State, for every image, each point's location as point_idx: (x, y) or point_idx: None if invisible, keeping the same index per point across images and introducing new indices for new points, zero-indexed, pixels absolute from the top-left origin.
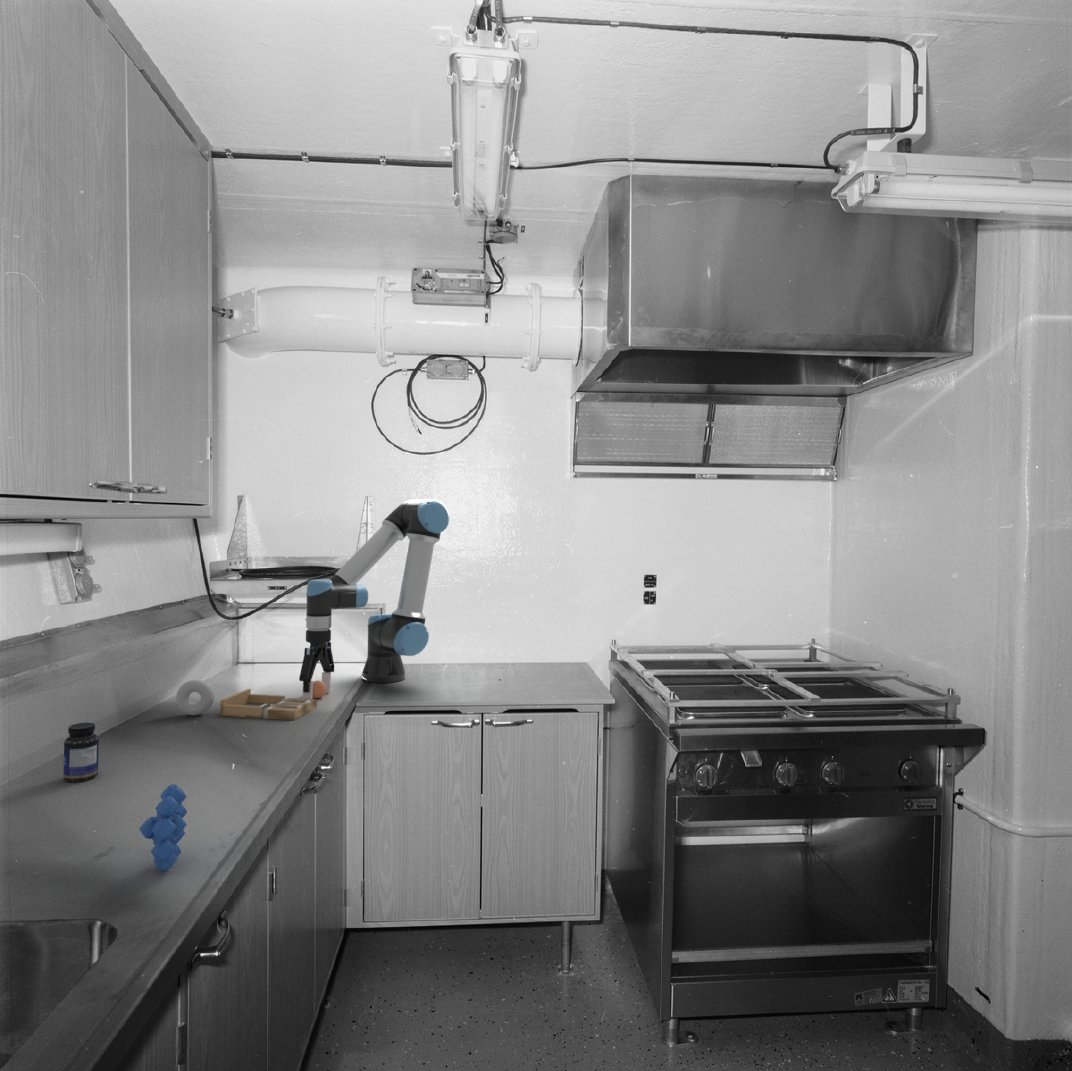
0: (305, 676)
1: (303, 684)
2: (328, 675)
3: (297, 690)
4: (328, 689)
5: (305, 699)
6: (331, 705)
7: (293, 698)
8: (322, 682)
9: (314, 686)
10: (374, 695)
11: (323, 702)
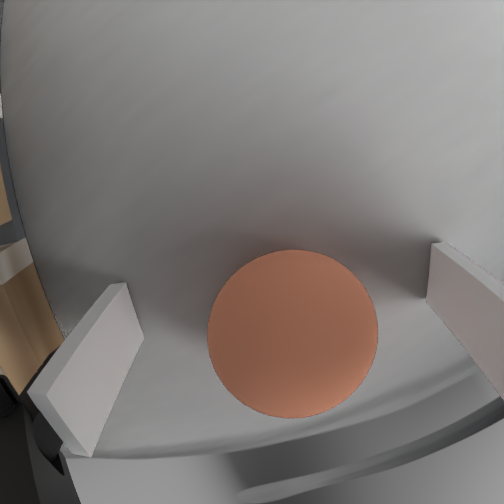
0: (22, 445)
1: (24, 389)
2: (497, 376)
3: (452, 22)
4: (438, 308)
5: (36, 371)
6: (164, 428)
7: (4, 297)
8: (311, 415)
9: (218, 373)
10: (400, 463)
11: (196, 380)
